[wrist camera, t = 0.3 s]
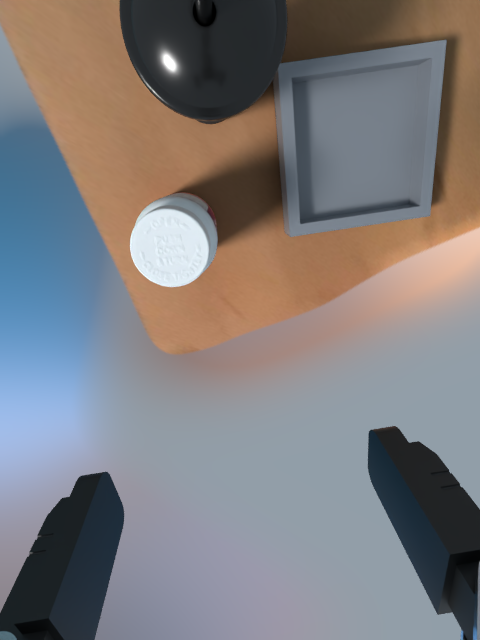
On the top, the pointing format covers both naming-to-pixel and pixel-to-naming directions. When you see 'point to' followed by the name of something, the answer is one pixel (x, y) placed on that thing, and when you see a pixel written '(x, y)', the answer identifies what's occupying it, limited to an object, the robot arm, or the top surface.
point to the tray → (358, 136)
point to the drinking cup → (205, 52)
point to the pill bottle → (174, 239)
